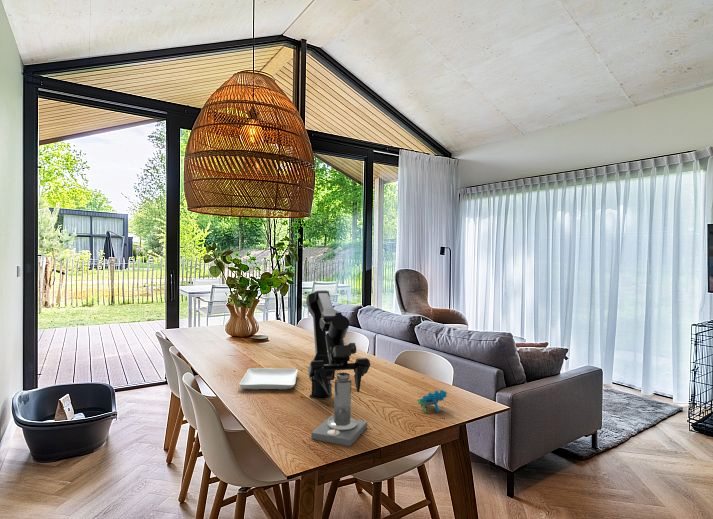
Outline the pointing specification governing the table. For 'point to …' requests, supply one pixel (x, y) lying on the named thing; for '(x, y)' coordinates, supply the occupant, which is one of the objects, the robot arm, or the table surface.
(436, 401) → the turquoise toy figurine
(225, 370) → the table surface
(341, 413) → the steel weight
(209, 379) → the table surface
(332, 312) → the robot arm
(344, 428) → the scale pan
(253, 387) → the salad plate
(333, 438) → the scale
